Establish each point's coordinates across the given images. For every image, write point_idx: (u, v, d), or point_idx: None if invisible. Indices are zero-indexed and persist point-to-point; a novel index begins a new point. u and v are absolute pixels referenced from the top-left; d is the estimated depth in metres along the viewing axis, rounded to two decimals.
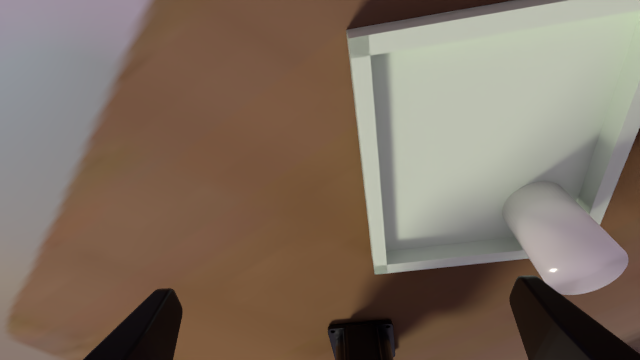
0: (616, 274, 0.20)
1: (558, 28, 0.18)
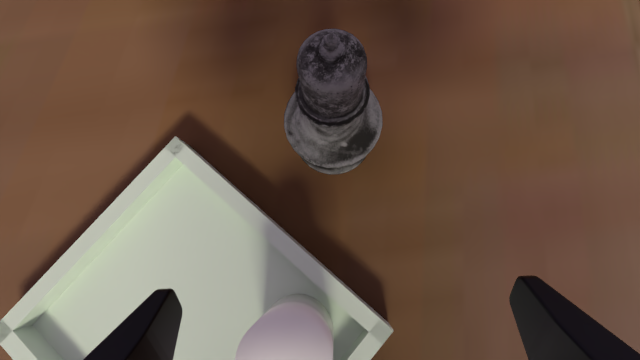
0: (321, 341, 0.15)
1: (150, 212, 0.23)
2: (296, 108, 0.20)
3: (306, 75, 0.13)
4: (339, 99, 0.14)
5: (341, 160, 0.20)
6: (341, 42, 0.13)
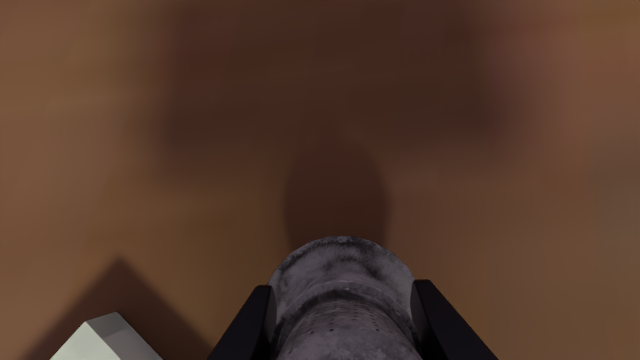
0: None
1: None
2: (279, 304, 0.12)
3: None
4: None
5: None
6: None
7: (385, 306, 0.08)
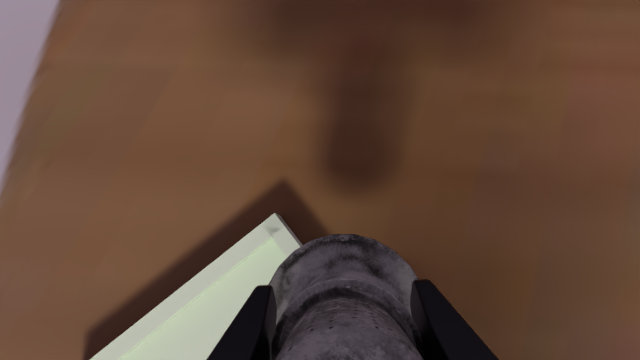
0: None
1: (231, 284, 0.22)
2: (281, 302, 0.12)
3: None
4: None
5: None
6: None
7: (386, 304, 0.08)
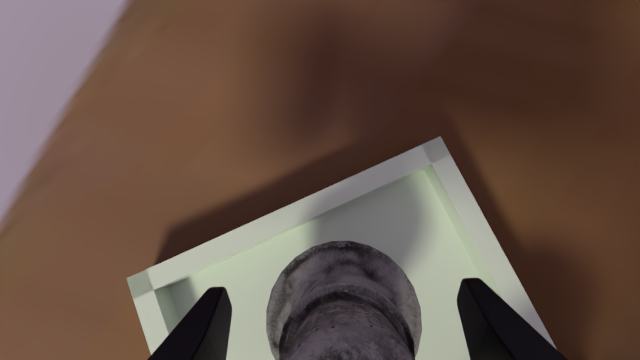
0: None
1: (358, 213, 0.17)
2: (285, 304, 0.13)
3: None
4: None
5: None
6: None
7: (380, 305, 0.09)
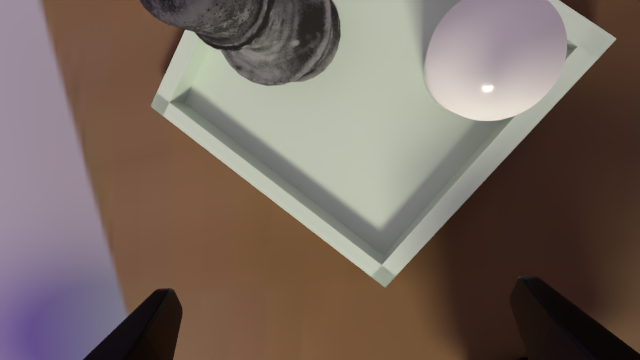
0: (549, 16, 0.11)
1: None
2: None
3: (159, 15, 0.10)
4: (222, 13, 0.10)
5: (305, 62, 0.16)
6: None
7: None
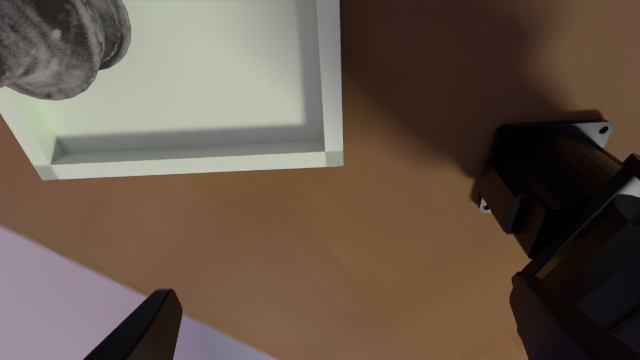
0: None
1: None
2: None
3: None
4: None
5: (87, 42, 0.14)
6: None
7: None
